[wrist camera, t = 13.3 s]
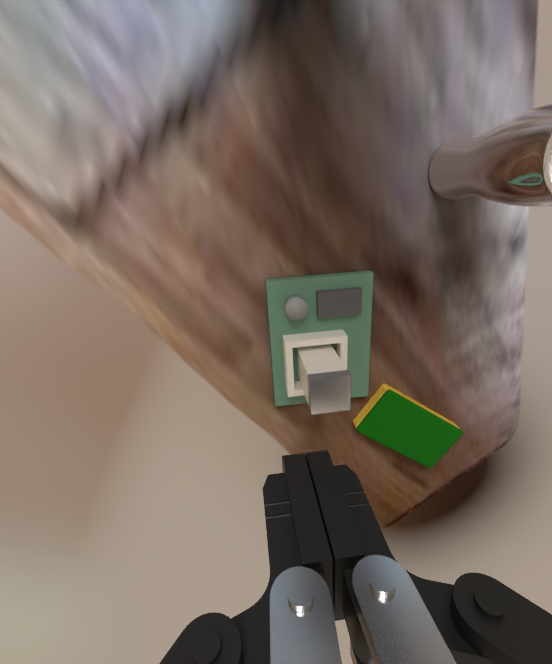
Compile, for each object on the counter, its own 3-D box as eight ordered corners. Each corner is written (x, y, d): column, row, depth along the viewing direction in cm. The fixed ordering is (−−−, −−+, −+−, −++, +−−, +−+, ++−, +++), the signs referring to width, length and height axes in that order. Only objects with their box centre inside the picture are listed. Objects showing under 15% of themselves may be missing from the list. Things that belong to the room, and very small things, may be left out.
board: (265, 279, 38) (267, 286, 35) (369, 270, 39) (380, 276, 36) (274, 401, 44) (277, 415, 41) (364, 390, 45) (373, 404, 42)
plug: (296, 346, 40) (309, 379, 33) (330, 342, 41) (351, 374, 33) (297, 376, 42) (310, 415, 34) (330, 372, 42) (350, 410, 35)
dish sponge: (382, 380, 45) (389, 390, 43) (454, 422, 49) (464, 432, 47) (350, 420, 47) (356, 431, 45) (422, 457, 51) (431, 469, 49)
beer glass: (480, 203, 38) (622, 206, 24) (419, 205, 37) (529, 209, 23) (493, 131, 35) (660, 87, 21) (429, 131, 35) (558, 86, 21)
